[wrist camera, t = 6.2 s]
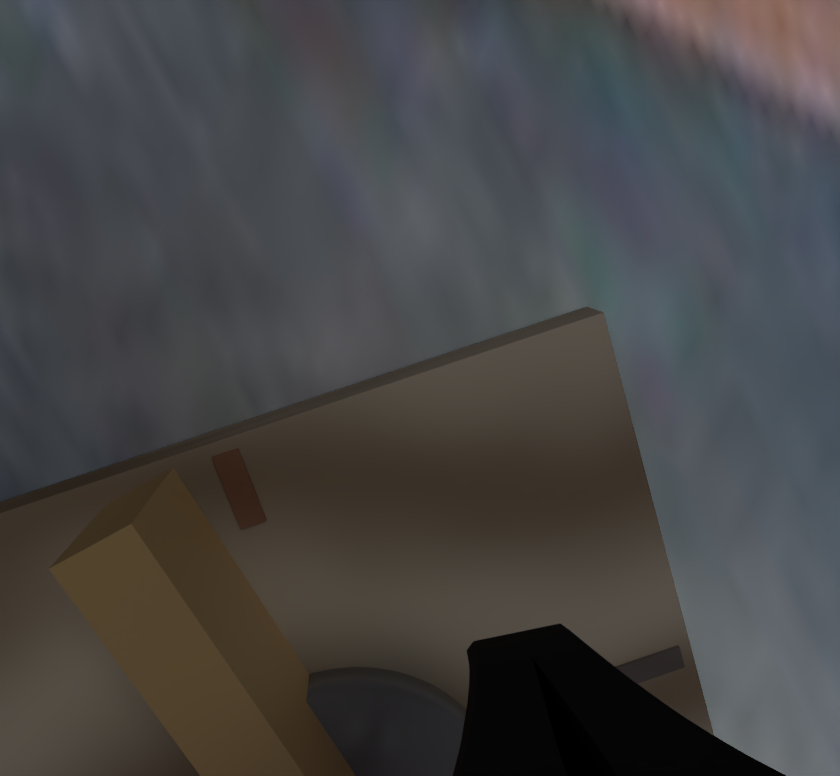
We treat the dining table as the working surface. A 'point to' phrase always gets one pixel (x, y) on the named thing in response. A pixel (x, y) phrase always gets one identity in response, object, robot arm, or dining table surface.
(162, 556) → the lever with round base
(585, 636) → the post board
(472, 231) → the dining table surface
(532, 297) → the dining table surface
